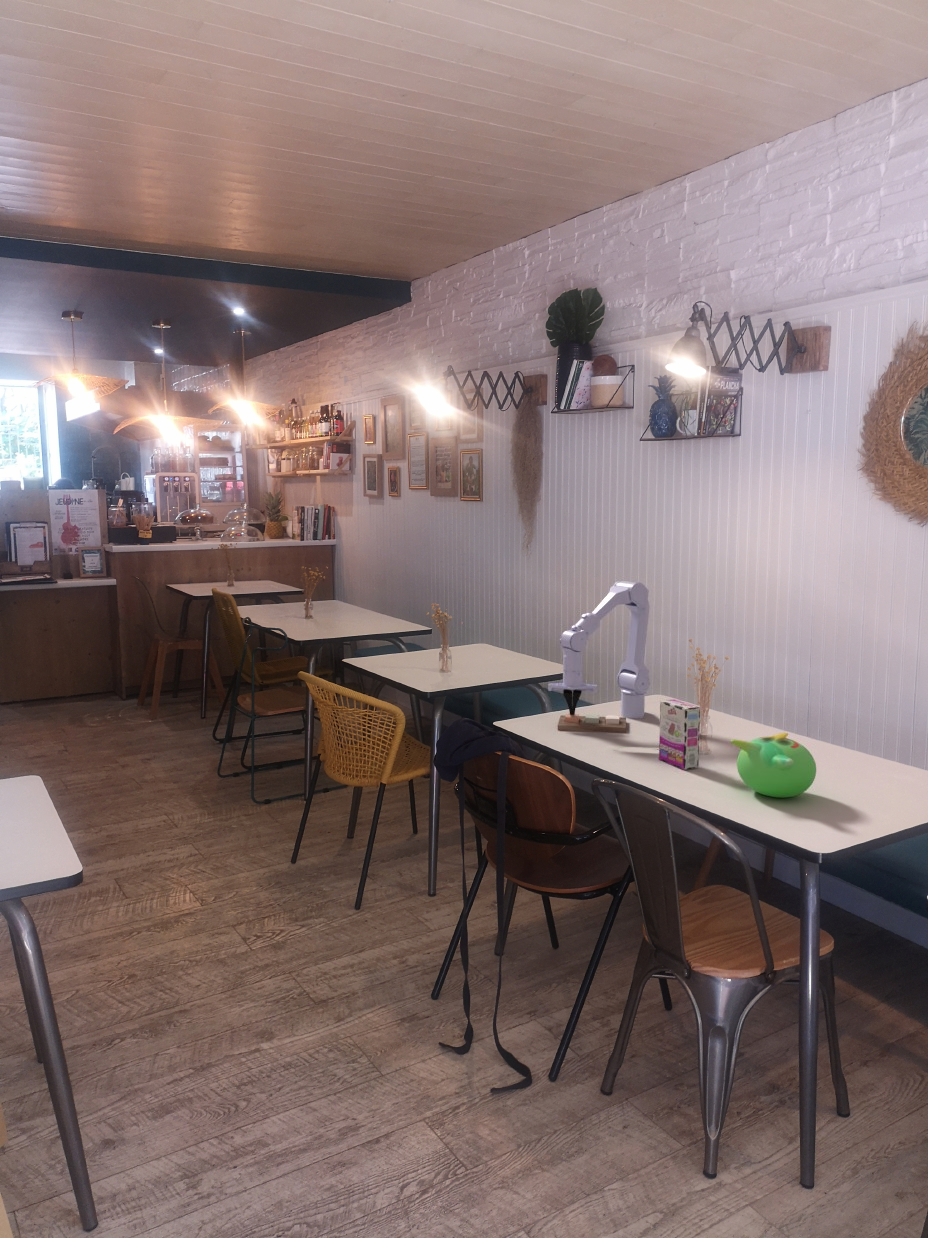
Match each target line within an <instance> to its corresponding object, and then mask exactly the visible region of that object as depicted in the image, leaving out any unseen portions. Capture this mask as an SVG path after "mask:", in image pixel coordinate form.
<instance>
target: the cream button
mask: <svg viewBox="0 0 928 1238" xmlns="http://www.w3.org/2000/svg"><path fill="white" fill-rule="evenodd" d="M605 717H606V724H619V717H620V715H612V714H611V715H608V714H607V715H605Z"/></svg>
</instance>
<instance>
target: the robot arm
mask: <svg viewBox="0 0 928 1238" xmlns="http://www.w3.org/2000/svg"><path fill="white" fill-rule="evenodd" d="M619 605H625V607H627V608H628V610H629V611H630V618H629V619H630V620H629V626H628V627H629V628H628V640H627V649H626V656H625V661H624V662H623V663H621V664H620V667H619V672H618V674H617V675H616V684H617V686H618V687H619V688H620V690H619V691H620V692H621V695H620V696H621V700H620V701H621V703H620V715H621V716H620V717H626V719H642V718H644V717H645V706H646V703H645V698H646V697H645V694H647V691H648V690H649V689H650V685H651V679H650V675H649V673H650V669H649V668H648V667H647V665H646V664H645V663H644V662H645V652H646V643H647V634H648V625H649V618H650V615H649V614H650V603H649V589H648V588H647V586H646V585H645V584H644V583H643V582H634V581H628V580H627V581H625V580H623V579H622V580H621V579H620V580H618V581H615V583H614V584H613V585H611V586H610V588H609V592H608V594H607V595H606V596H605V597H604V598H603V599H602V601H601V602H600V603H599V604H598V605H597V606H596V607H595V609H594V610H593V611H592V612H586V613H583V614H582V615H581V616H580V617H581V618H580V619H579V620H578V621H577V622H576V623H575V624H574V625H572V626H571V628H570V629H569V630H565V631H564V632H562V634H561V635H560V639H559V640H558V643H559V645H560V648H561V651H562V652H561V653H562V655H563V656H562V660H563V661H562V682H556V683H551V682H550V683H548V685H547V686H548V687H547V690H548V692H552V691H554V692H555V691H557V692H558V691H560V692H562V691H563V693H562V695H563V698H564V699H565V701H566V704H567V706H568V710H569V714H570V715H575V714H576V708H577V704H578V703H579V701H580V698H581V695H582V692H588V693H589V692H590V693H591V692H593V693H597V691H598V685H597V684H590V683H583V651H584V649H586V647H587V644H588V640H589V638H590V637H591V636H592V635H593V634H594V633H595V632H596V631H597V630H598V629H599V628H600V627H601V620H603V619H604V618H605V617H607V615H608V614H609V613H611V612H612V611H613V610H614V609H615V608H616V607H617V606H619Z"/></svg>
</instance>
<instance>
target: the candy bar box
mask: <svg viewBox="0 0 928 1238" xmlns="http://www.w3.org/2000/svg"><path fill="white" fill-rule="evenodd" d="M659 701H660V702H659V704H660V706H659V710H660V711H659V743H658V745H659V747H658V751H659V752H658V760H659V761H661V762H664V763H666V764H668V765H671V766H673V767H676V768H678V769H681V770H683V771H688V770H694V769H699V765H700V764H699V763H700V762H699V760H700V759H699V757H700V724H701V707H700V706H697V705H693V704H690V703H687V702H684V701H681V700H677V699H665V700H659Z"/></svg>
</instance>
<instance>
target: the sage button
mask: <svg viewBox="0 0 928 1238" xmlns="http://www.w3.org/2000/svg"><path fill="white" fill-rule="evenodd" d="M585 716H586V717H585V723H599V717H600V714H585Z"/></svg>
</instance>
